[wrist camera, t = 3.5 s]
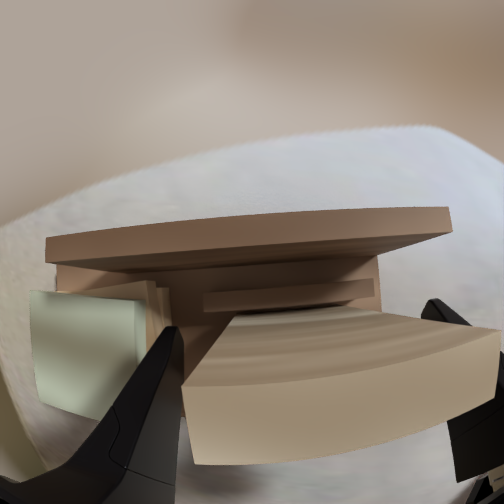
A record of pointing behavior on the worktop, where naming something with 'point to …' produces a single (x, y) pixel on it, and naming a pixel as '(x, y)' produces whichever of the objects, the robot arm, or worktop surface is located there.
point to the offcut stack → (93, 342)
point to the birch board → (331, 382)
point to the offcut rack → (246, 263)
